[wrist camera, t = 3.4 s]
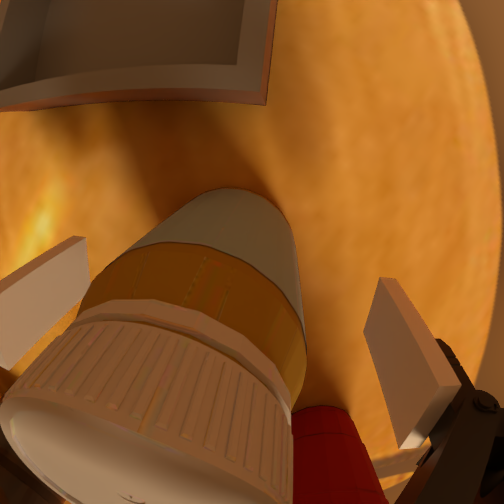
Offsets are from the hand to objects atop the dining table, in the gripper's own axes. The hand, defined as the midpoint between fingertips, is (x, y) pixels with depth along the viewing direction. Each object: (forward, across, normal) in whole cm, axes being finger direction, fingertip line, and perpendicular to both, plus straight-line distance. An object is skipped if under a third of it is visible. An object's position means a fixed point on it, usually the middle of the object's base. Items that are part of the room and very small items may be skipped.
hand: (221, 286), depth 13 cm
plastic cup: (+6, +8, -15) cm, 18 cm away
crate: (+5, -7, +20) cm, 22 cm away
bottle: (+6, 0, 0) cm, 6 cm away
